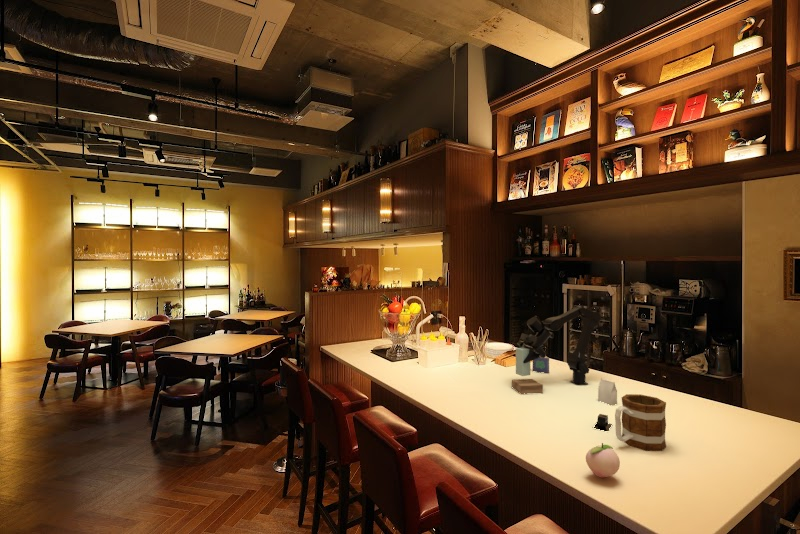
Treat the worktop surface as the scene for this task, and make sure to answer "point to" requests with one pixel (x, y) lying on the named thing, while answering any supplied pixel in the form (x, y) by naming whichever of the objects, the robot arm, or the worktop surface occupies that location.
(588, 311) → the robot arm
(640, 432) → the mug
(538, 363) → the flask
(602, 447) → the decorative fruit
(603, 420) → the black flanged block
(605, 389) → the paper bag
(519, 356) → the tall block
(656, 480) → the worktop surface
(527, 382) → the base brick
